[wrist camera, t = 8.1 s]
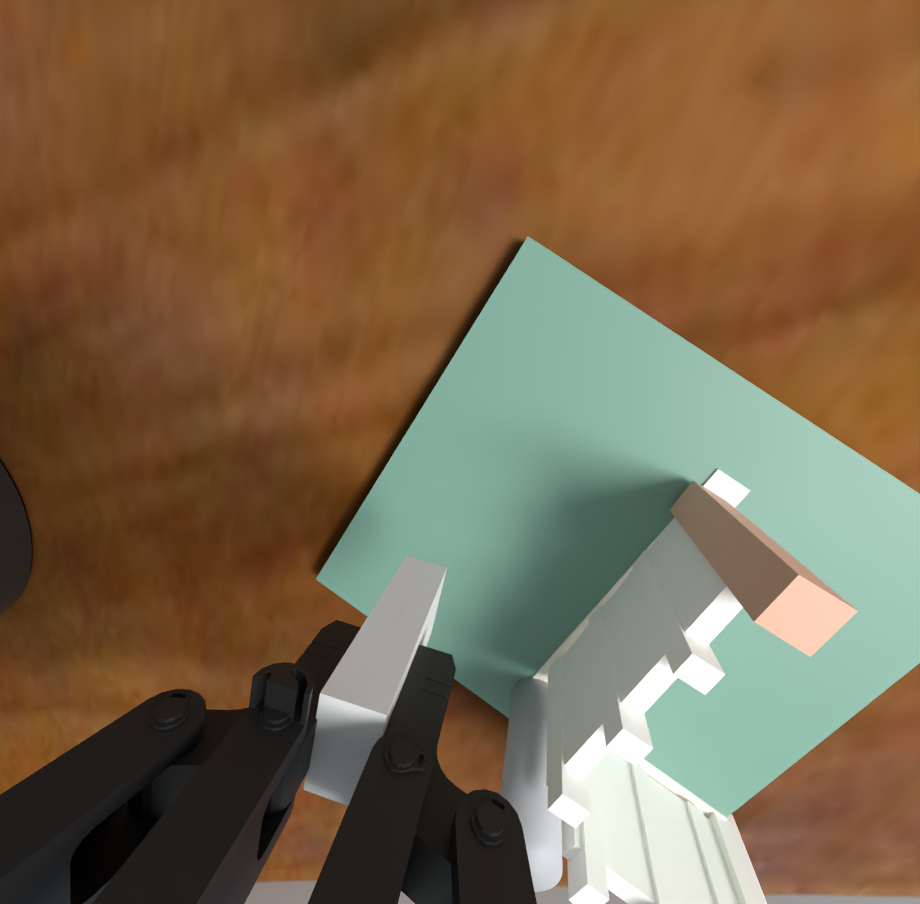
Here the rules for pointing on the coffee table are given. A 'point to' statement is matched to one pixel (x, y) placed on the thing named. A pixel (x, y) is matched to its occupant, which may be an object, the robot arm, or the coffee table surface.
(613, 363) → the board
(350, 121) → the coffee table surface
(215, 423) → the coffee table surface
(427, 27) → the coffee table surface
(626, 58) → the coffee table surface
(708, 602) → the white crenellated wall
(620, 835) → the fixed fence
